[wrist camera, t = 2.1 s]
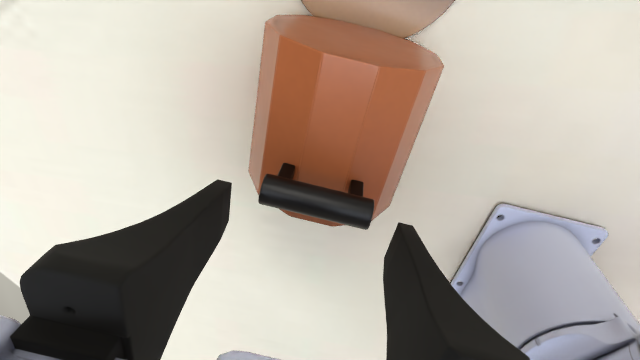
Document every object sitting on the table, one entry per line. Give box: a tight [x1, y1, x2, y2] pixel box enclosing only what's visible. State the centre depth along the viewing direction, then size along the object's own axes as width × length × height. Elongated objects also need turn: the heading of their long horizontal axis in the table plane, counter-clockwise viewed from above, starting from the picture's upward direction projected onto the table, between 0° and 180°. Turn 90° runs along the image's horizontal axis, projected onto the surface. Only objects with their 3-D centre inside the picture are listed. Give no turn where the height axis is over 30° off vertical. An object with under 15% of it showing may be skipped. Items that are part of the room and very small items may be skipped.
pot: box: [249, 15, 444, 230], centre depth 18 cm, size 10×8×8 cm
